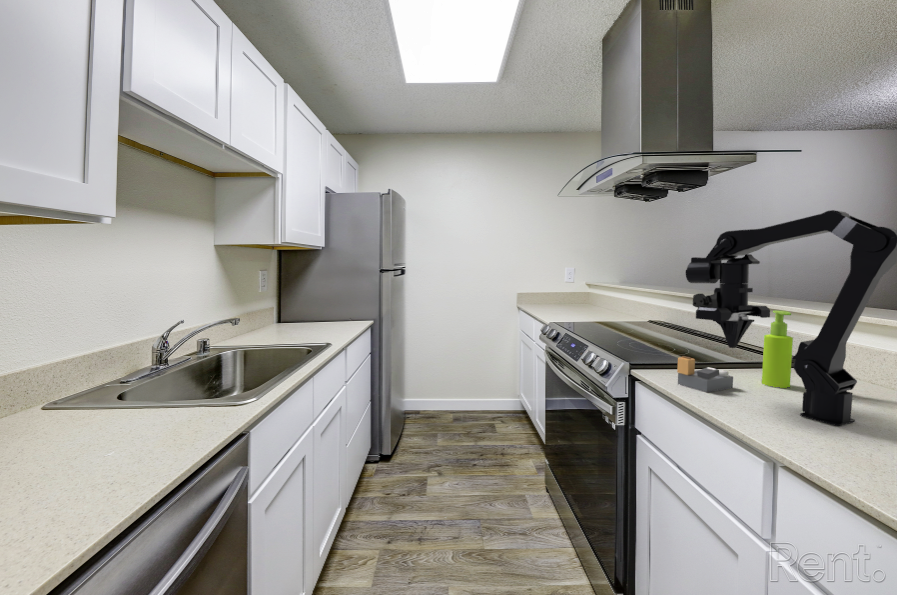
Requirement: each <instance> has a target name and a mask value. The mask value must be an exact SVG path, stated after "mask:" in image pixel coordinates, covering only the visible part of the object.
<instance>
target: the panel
mask: <svg viewBox="0 0 897 595" xmlns="http://www.w3.org/2000/svg"><path fill="white" fill-rule="evenodd" d="M699 370H700V369H698V370H695V371H694V374H692V375H686V374H682V373H678V372H677V385H679V384H680V386H684V387H685V388H686V387H687V388H691V389H694V390H697V391H700V392H704V393H709V392H711V393H712V392H717V391H721V390H728V389H733V388H734V376H732V375H729V371H727V370H722V369H718V370H719V375H718V376H716V377H713V378H711V379H706V378H702V377H698V376H697V371H699Z"/></svg>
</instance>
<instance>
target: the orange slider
mask: <svg viewBox="0 0 897 595" xmlns="http://www.w3.org/2000/svg"><path fill="white" fill-rule="evenodd" d="M695 365H696V359H695V358H692V357H690V356H685V355H682V356H681V357H677V369H676V370H677V374H678V373H682V374H686V375H692V374H694V371H696V368H695V367H696V366H695Z"/></svg>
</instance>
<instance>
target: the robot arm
mask: <svg viewBox="0 0 897 595" xmlns="http://www.w3.org/2000/svg"><path fill="white" fill-rule="evenodd" d="M826 233H831V234H833V235H835V236H837V237H838V238H839V239H841V240H843V241H845V242H847V243H849V244H852V249H851V252H850V256H849V259H850V260H849V262H850V265H849V267H850V269H849V273H848V275H847V277H846V279H845V281H844V283H843V285H842V287H841V289H840V291H839V293H838V295H837V297H836V299H835V301H834V303H833V305H832V307H831V309H830V311H829V312H828V315H827V316H826V318H825V321H824V323H823V325H822V326H821V329H820V330H819V332H818V335H817V336H816V337H815V338H814V339H810V340H806V341H805V340H804V341H800V343H799V344H798V347H797V348H798V349H797V352H796V353H795V355H794V356H792V360H793V370H794V372H795V373H796V374H797V375H798V377H799V378H801V379H800V380H801V382H802V385H803V387H804V390H805V392H803V393H802V405H801V406H802V408H801V411H802V412H800V413H799V416H800V417H802V418H803V417H804V418H806V419H810V420H814V421H817V422H822V423H825V424H828V425H831V426H834V427H836V426H837V427H842V426H845V425H849V424H853V423H855V422H856V419H855V418H852V408H853V407H852V406H853V405H852V404H853V392H850V391H852V390H854V387H855V386H856V385H857V383H858V380H857V379H856V378H855V377H854V376H852V375H851V374H850V373H849V372H848V371H847V370H846V369H845V368H844V365H845V360H846V357H847V343H848V340H849V338H850V337H851V334H852V332H853V331H854V329H855V327H856V326H857V323H858V322H859V319H860V318H861V316H862V315H863V312H864V310H865V308H866V306H867V305H868V303H869V301H870V299H871V298H872V295H873V294H874V292H875V290H876V287H877V286H878V284H879V282H880V281H881V279H882V277H884V276H885V274H887V272H889V271H890V270H891V269H892V268H893V267H894V266H895V265H896V264H897V228H894V227H888V226H887V227H886V226H877V225H875V224H872V223H870V222H867V221H865V220H862V219H859V218H857V217H855V216H852V215H851V214H849V213H847V212H846V211H842V210H835V209H834V210H833V209H832V210H826V211H825V212H822V213H819V214H815V215H812V216H811V215H810V216H806V217H803V218H798V219H794V220H790V221H786V222H782V223H779V224H774V225H770V226H769V225H768V226H766V227H762V228H756V229H755V228H751V229H738V230H737V229H736V230H728V231H724V232H722V233H721V234H719V236H718V238H717V240H716V243H715V244H714V246H713V247H712V249H711V250H710V251H709V253H708V254H706V257H691V258H690V262H689V263H688V265H687V266H686V270H685V278H686V280H687V282H688V283H690V284H716V283H717V282H718V281H719V287H714V290H713V294H711V295H705V293H696V294H693V296H692V307H695V308H697V309H696V310H695V319H697V320H706V321H712V322H715V323H717V324H718V326H720V328H721V330H722V332H723V335H724V337H725V341H726V342H727V346H728V348H730V349H735V348H736V347H737V346H738V344H739V342H740V341H741V340H742V338H743V337H744V335H745V333H746V332H747V330H748V329H749V327H750V326H751V325H752V324H753V323H755V319H749V316H751V317H758V318H761V319H763V318H764V319H765V318H771V309H770V308H769V307H768V306H767V305H760V304H759V305H757V304H756V305H755V304H749V293H753V291H754V289H753V287H749V279H750V278H749V274H750V273H749V270H750V265H759V264H760V263H761V261H760V260H758V259H756V258H755V257H754V255H752V253H754V252H757V251H759V250H762V249H763V248H765V247H767V246H770V245H774V244H780V243H785V242H789V241H794V240H798V239H799V240H800V239H803V238H808V237H812V236H817V235H821V234H826ZM739 256H742V257H739ZM722 261H726V262H722Z"/></svg>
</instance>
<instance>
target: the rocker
mask: <svg viewBox="0 0 897 595" xmlns="http://www.w3.org/2000/svg"><path fill="white" fill-rule="evenodd" d="M698 370H699V371H697V370H696V371H697V376H698V377H702V378H706V379H711V378H713V377H716V376H718V375H719V370H720V369H717V368H713V367H708V366H707V367H705V368H702V369H698Z"/></svg>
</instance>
